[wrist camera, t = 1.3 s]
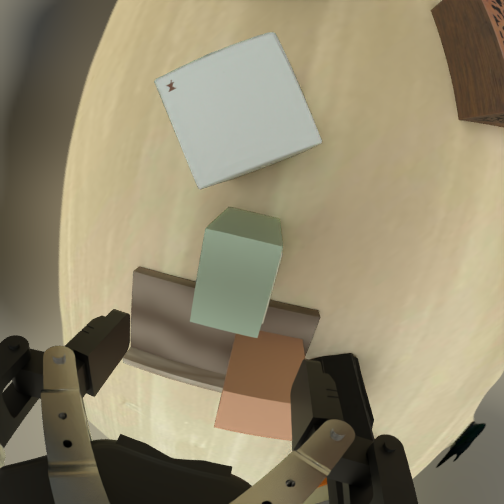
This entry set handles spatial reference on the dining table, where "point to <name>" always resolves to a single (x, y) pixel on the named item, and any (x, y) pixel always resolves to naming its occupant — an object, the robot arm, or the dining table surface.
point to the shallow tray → (194, 331)
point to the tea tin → (237, 271)
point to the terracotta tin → (260, 385)
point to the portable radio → (348, 405)
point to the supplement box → (238, 110)
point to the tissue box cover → (474, 56)
